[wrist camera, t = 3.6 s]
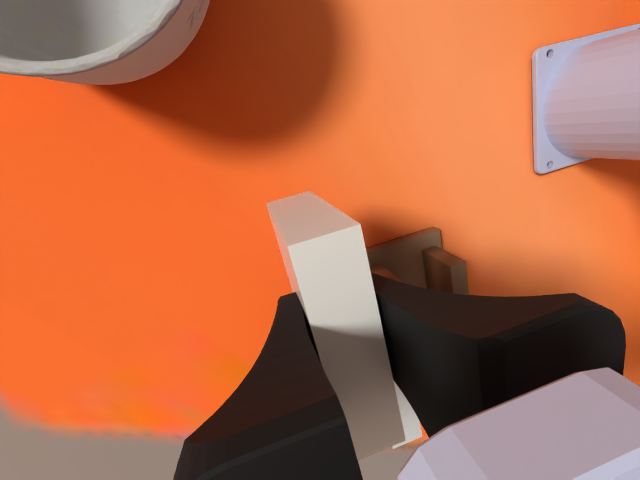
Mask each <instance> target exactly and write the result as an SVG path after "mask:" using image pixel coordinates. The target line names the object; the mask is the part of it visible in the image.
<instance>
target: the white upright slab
mask: <svg viewBox="0 0 640 480" xmlns="http://www.w3.org/2000/svg"><path fill="white" fill-rule="evenodd" d="M266 204H267V207H268V211H269V214H270V217H271V221H272V224H273V227H274V231H275V234H276V238H277V241H278V244H279V248H280V251H281V254H282V258H283V261H284V264H285V268H286V271H287V274H288V278H289V281H290V284H291V288H292V291H293V293H294V292H296V294H297V296H298V298H299V300H300V302H301V304H302V307H303V311H304V314H305V318H306V321H307V325H308V328H309V331H310V335H311V338H312V342H313V345H314V349H315V352H316V354H317V356H318V359H319V361H320V363H321V365H322V367H323V369H324V371H325V374H326V376H327V377H328V379H329V381H330V383H331V385H332V387H333V389H334V391H335V392H336V394H337V396H338V399H339V401H340V404H341V407H342V409H343V412H344V414H345V417H346V420H347V423H348V427H349V430H350V434H351V438H352V442H353V445H354V449H355V453H356V456H357V460H360V459H363V458H365V457H368V456H370V455H372V454H375V453H377V452H380V451H382V450H384V449H387V448H389V447H391V446H394V445H396V444H399V443H401V442H403V441H406V438H405V434H404V429H403V424H402V419H401V415H400V410H399V405H398V400H397V396H396V391H395V386H394V381H393V376H392V372H391V367H390V362H389V357H388V353H387V348H386V343H385V338H384V334H383V329H382V324H381V319H380V314H379V310H378V305H377V300H376V295H375V291H374V286H373V281H372V276H371V271H370V267H369V262H368V257H367V252H366V248H365V243H364V238H363V233H362V229H361V224H360V223H358V222H357V221H355V220H354V219H352V218H351V217H349V216H347V215H346V214H344V213H343V212H341V211H340V210H338V209H337V208H335V207H334V206H332V205H331V204H329V203H328V202H326V201H324V200H323V199H321V198H320V197H318V196H317V195H315V194H314V193H312V192H311V191H307V192H304V193H300V194H297V195H293V196H289V197H286V198H282V199H279V200H275V201H272V202H268V203H266Z"/></svg>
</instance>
